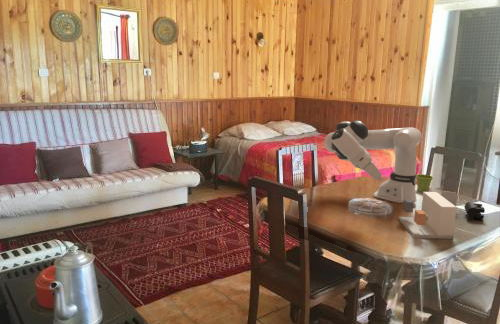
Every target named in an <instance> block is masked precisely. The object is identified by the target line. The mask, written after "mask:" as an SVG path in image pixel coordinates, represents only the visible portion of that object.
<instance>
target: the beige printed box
mask: <svg viewBox="0 0 500 324" xmlns="http://www.w3.org/2000/svg"><path fill="white" fill-rule="evenodd" d="M440 195H441V196H442V197H444V198H445V199H446V200H448V201H449V202H450V203H452V204H453V205H454V206H456V207H457V198H458V192H453V191H447V190H441V194H440Z"/></svg>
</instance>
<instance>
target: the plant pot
mask: <svg viewBox="0 0 500 324" xmlns="http://www.w3.org/2000/svg"><path fill="white" fill-rule="evenodd" d="M433 179H434V176H432V175H428V174H421V173H420V174H416V183H417V184H416V187H417V189H416V190H417V191H420V192H422V193H423V192H430V187H431V182H432V180H433Z"/></svg>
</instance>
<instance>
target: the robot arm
mask: <svg viewBox="0 0 500 324" xmlns="http://www.w3.org/2000/svg"><path fill="white" fill-rule="evenodd" d="M335 127H336V128H335V131H333V132H330V133H328V134H327V135H326V136H325V137H324V140H323V146H324V148H325V149H326V150H327V151H328V152H331V153H332V154H335V155H336V157H337V158H338V159H340V160H342V161H345V162H349V163H351V164H352V166H354V168H357V169H360V170H362V171H364V172H365V173H366V174H367V175H369V176H370V177H371V178H372V179H374V180H376V181H377V180H378V181H379V182H382V181H383V178H382V173H381V170H379V168H378V166H376V165H375V163H374V161H373V158H372V157H371V154H370V152H369V151H368V150H372V151H373V150H391V149H392V150H393V149H394V171H391V173H390V175H389V179H387V180H385V181H384V182H382V183H380V185H379V187H378V190H376V191H375V192H374V193H373V197H375V198H378V199H382V200H386V201H390V202H393V203H394V202H395V203H399V204H400V203H403V201H404V199H411V200H412V201H413V202H416V201H417V195H416V185H417V184H416V183H417V177H416V175H417V165H418V164H417V163H418V159H417V152H416V151H417V149H416V148H417V146H418V145H419V144H420V143H421V141H422V138H423V135H422V132H421V131H420V130H419V128H417V127H411V126H410V127H409V126H408V127H399V128H398V127H397V128H385V129H369V128H368V127H367V125H366V124H365V123H364V122H362V121H361V120H352V121H345V120H344V121H342V122H339V123H337V124H336V126H335Z"/></svg>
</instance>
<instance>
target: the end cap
mask: <svg viewBox="0 0 500 324" xmlns="http://www.w3.org/2000/svg"><path fill="white" fill-rule="evenodd" d="M464 210H465V212H466V215H467V217H468V218H469V220H471V221H476V222H484V217H485V215H483V214H485V211H486V210H485V207H484V206H483V204H482V203H476V202H474V201H471V200H470V201H468V202H466V203H465V204H464Z"/></svg>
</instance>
